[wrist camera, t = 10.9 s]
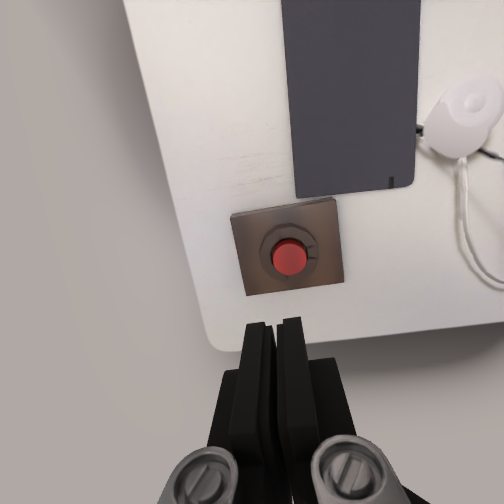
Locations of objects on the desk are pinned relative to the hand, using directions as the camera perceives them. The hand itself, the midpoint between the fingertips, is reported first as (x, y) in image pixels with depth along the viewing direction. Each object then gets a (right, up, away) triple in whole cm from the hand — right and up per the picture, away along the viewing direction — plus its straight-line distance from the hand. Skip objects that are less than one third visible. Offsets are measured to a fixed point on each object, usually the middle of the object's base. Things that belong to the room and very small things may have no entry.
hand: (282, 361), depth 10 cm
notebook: (+9, +21, +24) cm, 33 cm away
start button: (+3, +3, +26) cm, 26 cm away
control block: (+3, +4, +29) cm, 30 cm away
